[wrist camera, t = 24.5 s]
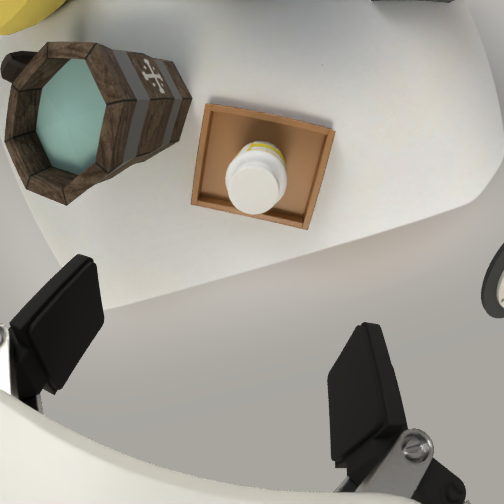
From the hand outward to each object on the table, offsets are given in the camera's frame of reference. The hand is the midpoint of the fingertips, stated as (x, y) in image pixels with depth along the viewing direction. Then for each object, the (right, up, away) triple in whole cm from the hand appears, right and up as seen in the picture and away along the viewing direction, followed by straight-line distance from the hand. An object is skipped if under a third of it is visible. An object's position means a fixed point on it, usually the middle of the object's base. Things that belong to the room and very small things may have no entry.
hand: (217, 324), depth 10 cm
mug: (-14, +21, +19) cm, 32 cm away
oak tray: (+2, +12, +22) cm, 25 cm away
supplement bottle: (+2, +12, +21) cm, 25 cm away
